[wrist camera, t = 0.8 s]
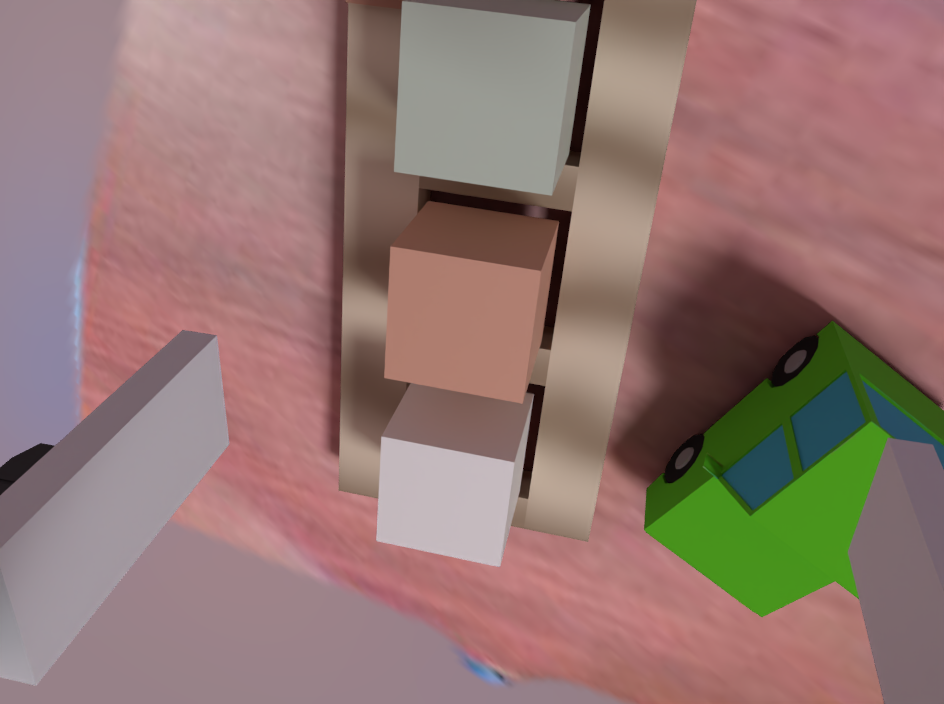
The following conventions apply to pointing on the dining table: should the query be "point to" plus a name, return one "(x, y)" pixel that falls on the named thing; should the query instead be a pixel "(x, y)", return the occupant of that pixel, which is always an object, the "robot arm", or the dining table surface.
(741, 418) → the toy car
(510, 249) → the terracotta button
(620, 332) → the board
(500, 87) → the sage button
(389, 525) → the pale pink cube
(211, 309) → the dining table surface
